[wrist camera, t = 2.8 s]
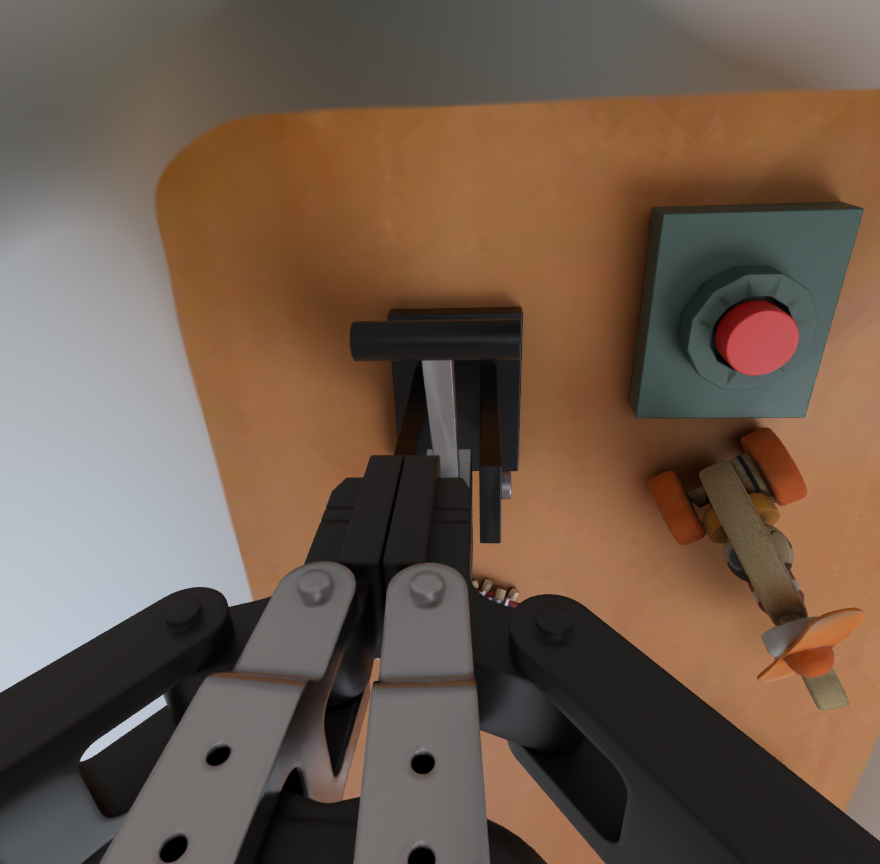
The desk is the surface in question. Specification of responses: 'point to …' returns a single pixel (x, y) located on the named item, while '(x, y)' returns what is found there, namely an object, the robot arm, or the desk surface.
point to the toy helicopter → (762, 556)
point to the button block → (736, 304)
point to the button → (756, 337)
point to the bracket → (467, 412)
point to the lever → (439, 368)
